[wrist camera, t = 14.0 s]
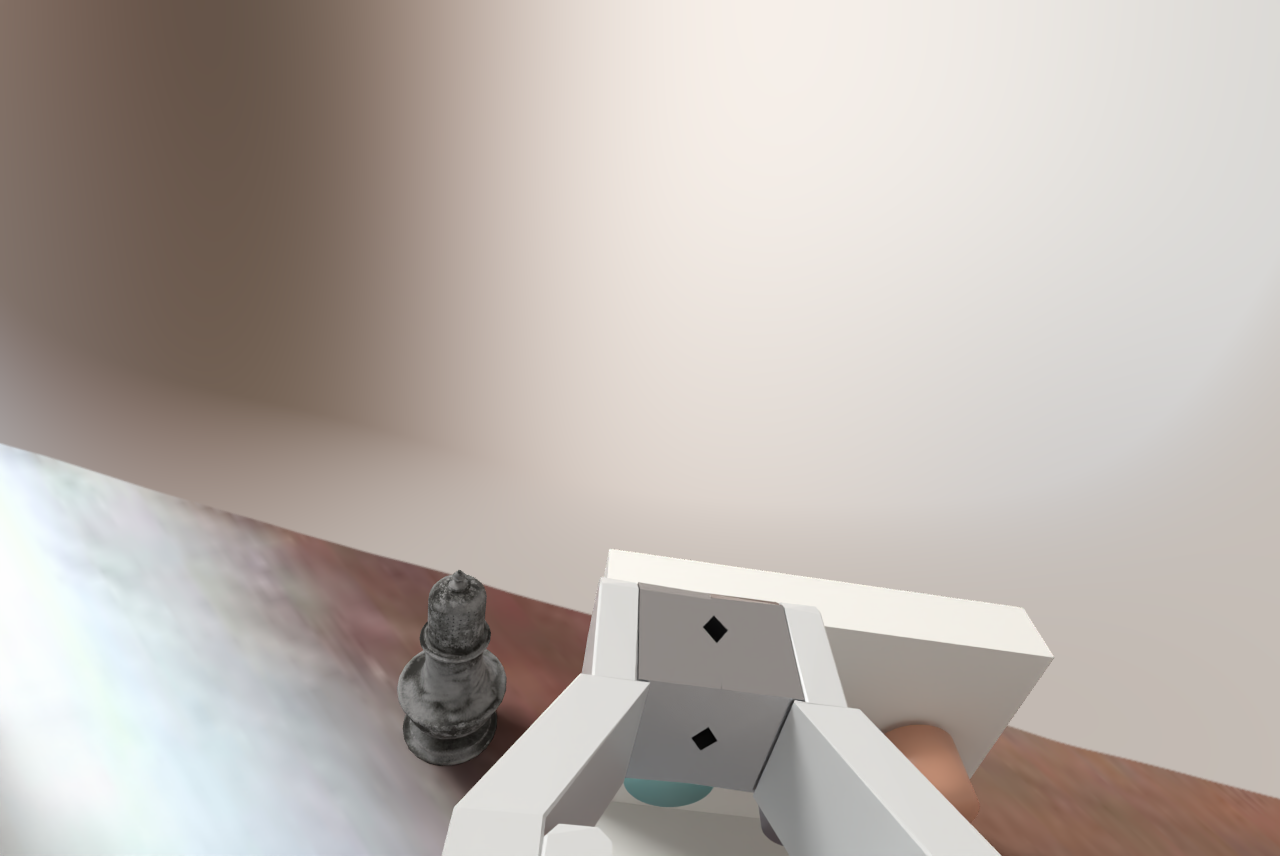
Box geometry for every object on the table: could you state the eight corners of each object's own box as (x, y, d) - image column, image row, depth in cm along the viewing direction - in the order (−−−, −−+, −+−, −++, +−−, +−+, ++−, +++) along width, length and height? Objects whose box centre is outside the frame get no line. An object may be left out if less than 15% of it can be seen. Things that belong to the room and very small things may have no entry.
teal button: (616, 801, 31) (631, 746, 29) (619, 741, 34) (632, 686, 32) (704, 811, 31) (725, 757, 29) (700, 750, 34) (719, 697, 32)
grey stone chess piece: (506, 762, 39) (526, 610, 33) (396, 777, 37) (394, 619, 31) (497, 676, 44) (513, 529, 38) (398, 686, 42) (398, 533, 36)
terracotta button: (874, 832, 32) (906, 780, 30) (858, 771, 35) (886, 719, 33) (957, 841, 32) (995, 791, 30) (935, 780, 35) (968, 730, 33)
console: (555, 871, 35) (601, 652, 27) (567, 760, 40) (609, 548, 32) (937, 912, 36) (1091, 716, 28) (901, 800, 41) (1023, 607, 33)
